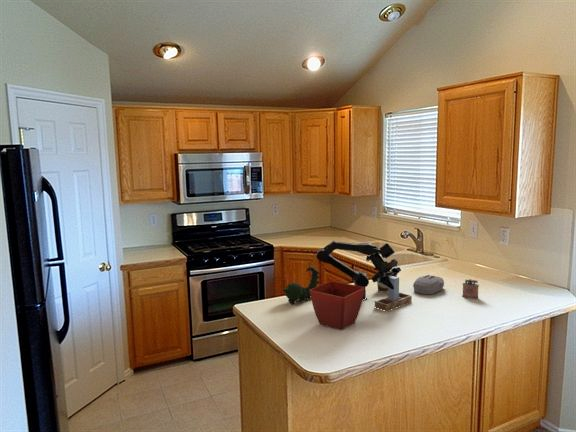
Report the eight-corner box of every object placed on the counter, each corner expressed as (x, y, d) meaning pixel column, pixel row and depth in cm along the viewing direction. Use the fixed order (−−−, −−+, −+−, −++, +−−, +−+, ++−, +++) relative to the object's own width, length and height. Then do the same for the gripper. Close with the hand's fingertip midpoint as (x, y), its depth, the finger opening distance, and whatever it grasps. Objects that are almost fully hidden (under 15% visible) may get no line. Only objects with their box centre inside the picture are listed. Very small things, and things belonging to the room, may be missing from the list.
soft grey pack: (423, 284, 254) (407, 292, 240) (423, 270, 253) (408, 278, 239) (447, 289, 244) (433, 297, 230) (448, 275, 243) (433, 283, 228)
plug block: (394, 301, 216) (394, 278, 215) (387, 299, 219) (388, 277, 218) (398, 299, 219) (399, 277, 217) (392, 297, 222) (392, 275, 220)
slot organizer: (386, 311, 210) (386, 305, 209) (374, 307, 216) (374, 301, 215) (411, 302, 223) (411, 295, 223) (399, 298, 229) (399, 292, 229)
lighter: (461, 297, 229) (462, 279, 228) (462, 295, 232) (463, 277, 230) (478, 299, 225) (478, 281, 224) (478, 297, 228) (479, 279, 227)
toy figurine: (310, 296, 240) (276, 303, 224) (312, 264, 239) (278, 268, 222) (321, 300, 233) (288, 307, 217) (323, 267, 232) (289, 271, 215)
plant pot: (331, 312, 211) (331, 280, 208) (365, 321, 199) (365, 286, 196) (309, 324, 196) (308, 289, 194) (344, 334, 184) (343, 297, 182)
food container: (395, 288, 246) (395, 272, 245) (397, 291, 240) (397, 275, 239) (374, 288, 248) (374, 271, 246) (375, 291, 241) (375, 274, 240)
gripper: (376, 257, 213) (394, 283, 206) (398, 251, 225) (416, 276, 218) (364, 269, 220) (380, 294, 213) (386, 263, 232) (402, 287, 225)
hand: (395, 287), depth 217 cm, fingers closed on plug block, 4 cm apart
